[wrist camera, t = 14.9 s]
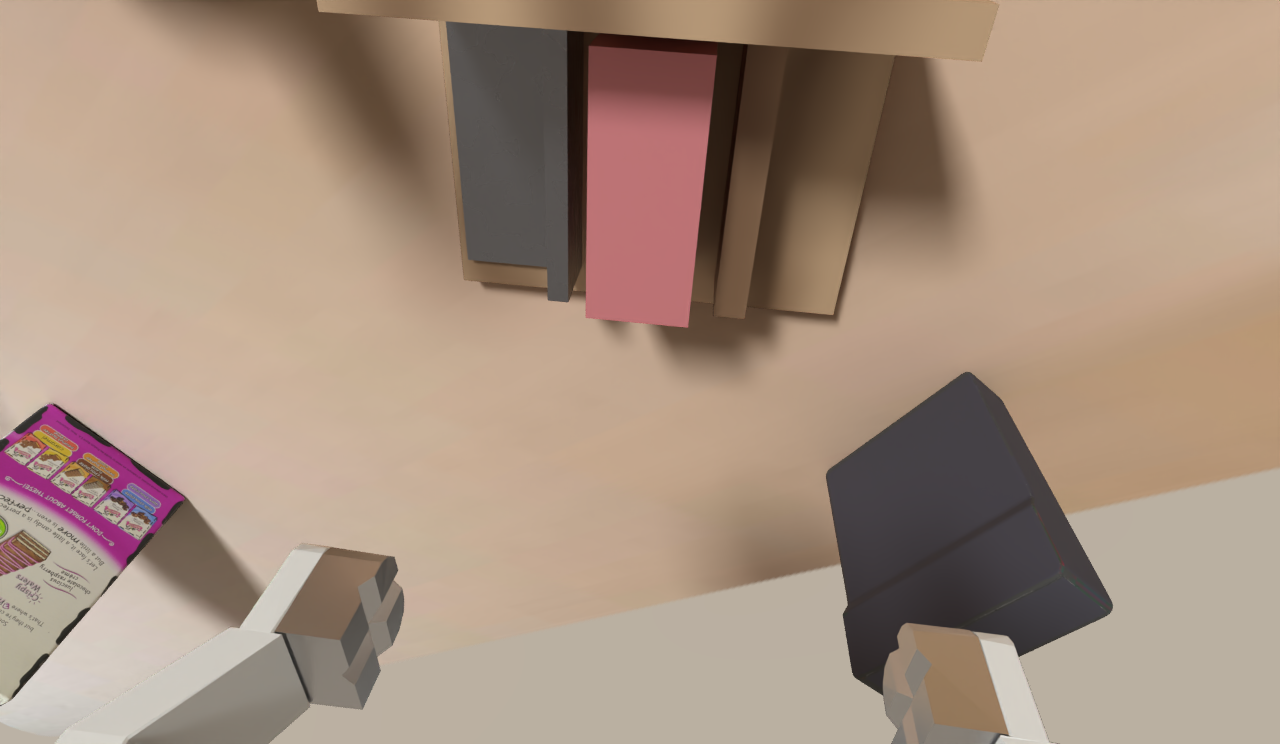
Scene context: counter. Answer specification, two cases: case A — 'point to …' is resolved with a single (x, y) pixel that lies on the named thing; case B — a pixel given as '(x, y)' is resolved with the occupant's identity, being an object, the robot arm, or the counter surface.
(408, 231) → the counter surface
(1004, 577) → the stepped charcoal slab
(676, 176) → the boxed book
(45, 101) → the counter surface
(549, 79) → the bookend
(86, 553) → the candy bar box
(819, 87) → the wooden shelf rack
